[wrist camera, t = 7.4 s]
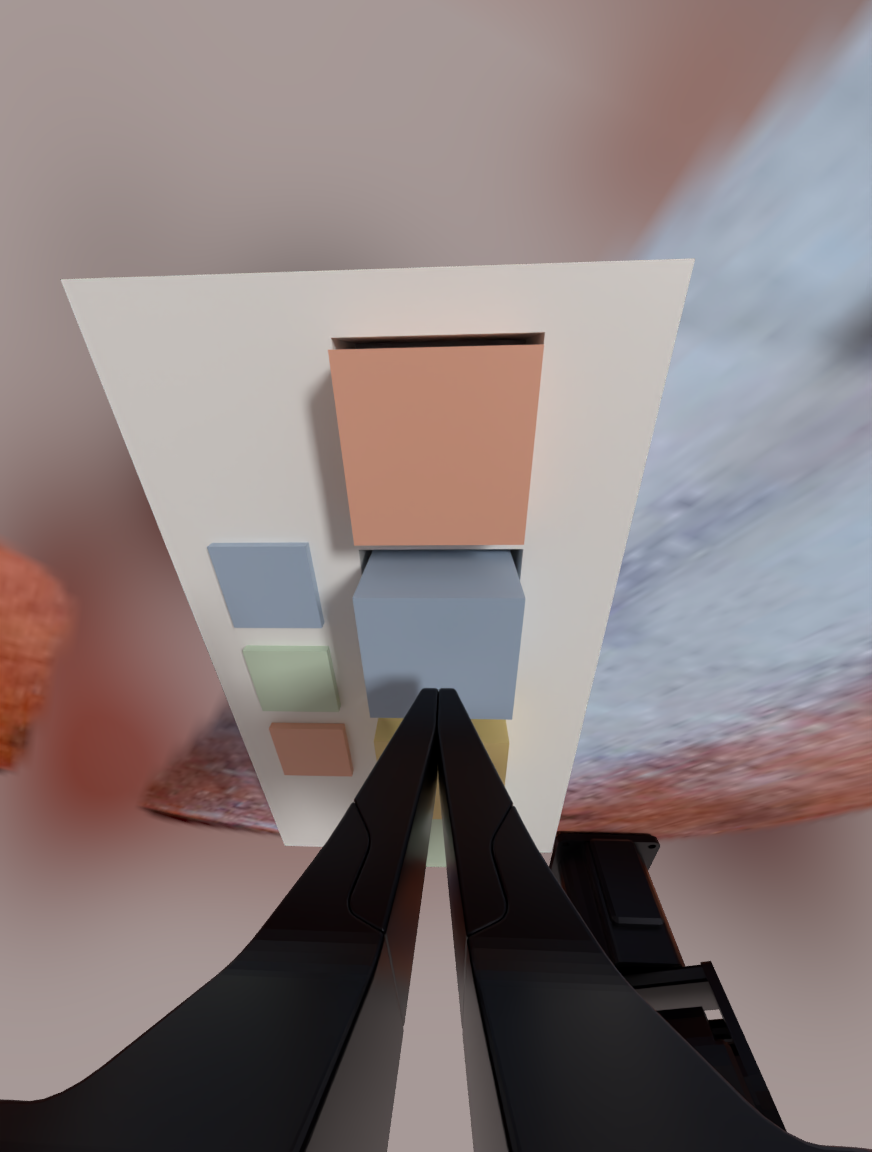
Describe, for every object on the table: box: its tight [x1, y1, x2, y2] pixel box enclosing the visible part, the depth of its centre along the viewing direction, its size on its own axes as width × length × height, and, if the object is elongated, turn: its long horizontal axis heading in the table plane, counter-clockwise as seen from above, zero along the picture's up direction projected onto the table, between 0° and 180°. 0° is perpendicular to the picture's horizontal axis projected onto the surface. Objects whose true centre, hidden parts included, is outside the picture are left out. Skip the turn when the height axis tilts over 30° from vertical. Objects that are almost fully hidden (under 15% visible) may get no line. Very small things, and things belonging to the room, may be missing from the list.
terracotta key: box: [328, 344, 544, 546], centre depth 10 cm, size 4×4×4 cm
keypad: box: [61, 259, 695, 853], centre depth 16 cm, size 24×14×4 cm, turn 1°
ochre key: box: [374, 718, 509, 819], centre depth 15 cm, size 4×4×4 cm
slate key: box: [352, 549, 526, 720], centre depth 12 cm, size 4×4×4 cm
